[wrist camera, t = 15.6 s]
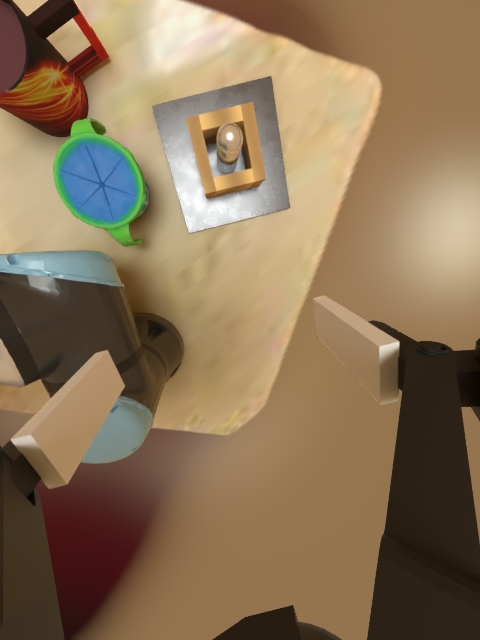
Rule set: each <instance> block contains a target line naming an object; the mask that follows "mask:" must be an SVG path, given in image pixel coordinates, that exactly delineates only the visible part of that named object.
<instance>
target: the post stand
mask: <svg viewBox="0 0 480 640" xmlns="http://www.w3.org/2000/svg"><path fill="white" fill-rule="evenodd" d="M249 102H253V104H254V110H255V116H256V122H257V128H258V134H259V140H260V146H261V152H262V158H263V164H264V171H265V177H266V179H265V180H264V181H263V182H262V183H261V184H260V186H257V187H253V188H249V189H245V190H241V191H236V192H232V193H228V194H224V195H220V196H216V197H212V198H208V199H206V196H205V192H204V188H203V184H202V180H201V176H200V173H199V169H198V165H197V161H196V157H195V153H194V149H193V145H192V141H191V137H190V133H189V129H188V125H187V121H186V118H188V117H192V116H196V115H200V114H204V113H208V112H213V111H217V110H221V109H225V108H229V107H233V106H237V105H241V104H245V103H249ZM152 108H153V112H154V115H155V118H156V122H157V125H158V129H159V132H160V135H161V139H162V142H163V146H164V149H165V152H166V156H167V159H168V163H169V166H170V170H171V173H172V176H173V180H174V183H175V187H176V190H177V193H178V197H179V200H180V204H181V207H182V211H183V214H184V217H185V221H186V224H187V228H188V231H189V233H192V232H196V231H200V230H204V229H208V228H212V227H216V226H220V225H224V224H228V223H232V222H236V221H240V220H244V219H248V218H252V217H256V216H260V215H264V214H268V213H272V212H276V211H280V210H284V209H288V208H290V204H289V197H288V190H287V183H286V176H285V169H284V162H283V155H282V148H281V141H280V134H279V127H278V120H277V113H276V106H275V99H274V92H273V85H272V78H271V76H269V77H265V78H261V79H257V80H253V81H249V82H245V83H241V84H237V85H233V86H229V87H225V88H222V89H218V90H214V91H210V92H206V93H202V94H198V95H194V96H190V97H186V98H182V99H178V100H174V101H170V102H166V103H162V104H158V105H154V106H152ZM242 144H243V135H242V131H241V129H240V128H239V127H238V126H237V125H236V124H234V123H231V122H228V123H225V124H223V125H222V126H221V127H220V128H219V130H218V133H217V142H216V143H211V144H207V145H206V149H207V153H208V157H209V162H210V166H211V170H212V174H213V178H214V177H218V176H223V175H227V174H231V173H235V172H239V171H243V170H246V169H245V164H244V159H243V153H242Z"/></svg>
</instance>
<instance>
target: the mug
mask: <svg viewBox="0 0 480 640" xmlns="http://www.w3.org/2000/svg"><path fill="white" fill-rule="evenodd" d="M72 18H74V20H75V21H76V23H77V24H78V26H79V27H80V29H81V30H82V32H83V33H84V35H85V36H86V38H87V39H88V40H89V42H90V43H91V46H90V47H88V48H87V49H86V50H84V51H83V52H82V53H80V54H79V55H78V56H76V57H75V58H73V59H72V60H71V61H69V62H67V61H66V60H65V59H64V58H63V56H62V55H61V54H60V53H59V52H58V51H57V50H56V49H55V47H54V46H53V45H52V44H51V43H50V42H49V41H48V40H47V39H46V38H47V37H48V36H50V35H51V34H52V33H53V32H55V31H56V30H57V29H59V28H60V27H61V26H63V25H64V24H65V23H66V22H68V21H69V20H70V19H72ZM108 57H109V56H108V54H107V52H106V50H105V48H104V47H103V45H102V44H101V42H100V40H99V39H98V37H97V36H96V34H95V32H94V31H93V29H92V27H90V26H89V24H88V23H87V21H86V19H85V18H84V16H83V15H82V13H81V11H80V10H79V8H78V7H77V5H76V4H75V2H74V0H48V1H47V2H46V3H44V4H43V5H42V6H40V7H39V8H38V9H37V10H35V11H34V12H33V13H32V14H30V15H29V16H28V17H27V16H26V15H25V14H24V13H23V12H22V11H21V9H20V8H19V7H18V6H17V5H16V4H15V3H14V2H13V0H0V108H2V109H4V110H6V111H7V112H9V113H11V114H13V115H15V116H16V117H18V118H20V119H22V120H23V121H25V122H27V123H29V124H31V125H32V126H34V127H36V128H38V129H39V130H41V131H43V132H45V133H47V134H49V135H52V136H56V137H68V136H71V128H72V125H73V123H74V122H75V121H77V120H83V119H86V118H87V115H88V98H87V93H86V90H85V87H84V85H83V82H82V81H81V79H80V77H81V76H82V75H83V74H85V73H86V72H88V71H89V70H90V69H92V68H93V67H94V66H96V65H97V64H98V63H100V62H101V61H103V60H105V59H106V58H108Z"/></svg>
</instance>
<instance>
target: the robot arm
mask: <svg viewBox="0 0 480 640" xmlns="http://www.w3.org/2000/svg"><path fill="white" fill-rule="evenodd" d="M124 288H125V286H124V284H123V283H121V280H120V278H119V275H118V273H117V270H116V267H115V265H114V263H113V261H112V259H111V258H110V257H109V256H108V255H106V254H104V253H102V252H99V251H45V252H27V253H20V254H19V253H14V254H0V384H1V385H7V386H13V387H19V388H20V387H23V386H26V385H28V384H30V383H32V382H34V381H36V380H39V379H41V381H42V383H43V384H44V386H45V388H46V390H47V392H48V394H49V396H50V398H51V399H50V400H49V401H48V402H47V403H46V404H45V405H44V406H43V407H42V408H41V409H40V410H39V411H38V412H37V413H36V414H35V415H34V416H33V417H32V418H31V419H30V420H29V421H28V422H27V423H26V424H25V425H24V426H23V427H22V428H21V429H20V430H19V432H17V433H16V434H15V435H14V436H13V437H12V438H11V439H10V441H9V442H8V443H7V444H6V445H5V446H4V447H3V448H1V446H0V640H64V635H63V630H62V624H61V618H60V612H59V606H58V600H57V594H56V588H55V582H54V576H53V571H52V565H51V559H50V553H49V547H48V541H47V535H46V529H45V523H44V517H43V512H42V506H41V500H40V495H39V493H38V492H37V491H36V489H35V487H36V485H37V484H38V482H39V481H40V480H42V481H43V482H44V483H45V485H46V486H47V487H48V488H49V489H51V488H55V487H59V486H63V485H67V484H68V482H69V481H70V479H71V477H72V475H73V474H74V472H75V470H76V468H77V467H78V465H79V464H80V462H83V463H108V462H113V461H117V460H120V459H123V458H125V457H127V456H129V455H130V454H132V453H133V452H135V451H136V450H137V449H138V448H139V447H140V446H141V444H142V443H143V442H144V440H145V438H146V436H147V434H148V432H149V430H150V428H151V427H152V424H153V420H154V419H153V418H154V415H155V412H156V409H157V406H158V403H159V400H160V397H161V394H162V391H163V388H164V385H165V383H166V382H167V381H168V380H169V379H170V378H171V377H172V376H173V375H174V374H175V373H176V372H177V370H178V369H179V367H180V365H181V362H182V358H183V354H184V345H183V341H182V338H181V336H180V334H179V332H178V331H177V329H176V328H175V327H174V326H173V325H172V324H171V323H170V322H168V321H167V320H165V319H163V318H161V317H159V316H156V315H153V314H148V313H136V314H132V312H131V309H130V305H129V302H128V299H127V296H126V293H125V290H124ZM312 300H313V307H314V315H315V323H316V331H317V338H318V339H319V340H320V341H321V342H322V343H323V344H324V345H325V346H326V347H327V348H328V349H329V350H330V352H331V353H332V354H333V355H334V356H335V357H336V358H337V359H338V360H339V361H340V362H341V363H342V364H343V365H344V367H345V368H346V369H347V370H348V371H349V372H350V373H351V374H352V375H353V376H354V377H355V378H356V379H357V380H358V382H359V383H360V384H361V385H362V386H363V387H364V388H365V389H366V390H367V391H368V392H369V393H370V394H371V395H372V396H373V398H374V399H375V400H376V401H377V402H378V403H379V404H380V405H383V404H387V403H392V402H395V401H399V389H400V390H401V391H402V399H401V407H400V415H399V422H398V430H397V438H396V446H395V454H394V462H393V469H392V478H391V486H390V493H389V501H388V509H387V518H386V524H385V531H384V534H383V535H382V538H381V543H380V549H379V557H378V563H377V571H376V578H375V585H374V593H373V600H372V607H371V615H370V623H369V630H368V637H367V640H480V543H479V536H478V528H477V521H476V514H475V506H474V499H473V491H472V484H471V476H470V469H469V462H468V454H467V447H466V440H465V433H464V425H463V418H462V410H461V407H471V408H472V409H473V411H474V413H475V414H476V416H477V418H478V419H479V421H480V339H478V340H477V342H476V347H475V350H462V351H453V350H452V349H451V348H450V347H448V346H447V345H445V344H442V343H438V342H432V341H420V342H417V341H415V340H413V339H411V338H410V337H408V336H406V335H404V334H403V333H401V332H398V331H397V330H395V329H394V328H391V327H390V326H388V325H386V324H385V323H382V322H378V321H369V322H367V321H365V320H364V319H362V318H360V317H359V316H357V315H355V314H354V313H352V312H351V311H349V310H347V309H346V308H344V307H342V306H340V305H339V304H337V303H336V302H334V301H333V300H331V299H329V298H328V297H326V296H320V297H316V298H313V299H312ZM213 640H342V639H340V638H339V637H337V636H336V635H334V634H332V633H330V632H329V631H327V630H325V629H323V628H320V627H318V626H315V625H312V624H308V623H302V622H298V620H297V616H296V613H295V610H294V607H293V605H292V606H288V607H284V608H280V609H276V610H272V611H268V612H264V613H260V614H256V615H252V616H248V617H245V618H243V619H242V620H240V621H239V622H238V623H236V624H235V625H233V626H232V627H230V628H229V629H227V630H226V631H224V632H223V633H222V634H220V635H219V636H217V637H216V638H214V639H213Z"/></svg>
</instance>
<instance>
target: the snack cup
mask: <svg viewBox="0 0 480 640" xmlns="http://www.w3.org/2000/svg"><path fill="white" fill-rule="evenodd" d="M105 132H106V129H105V127H104V126H103V125H102V124H101V123H99V122H98V121H96V120H94V119H92V118H86V119H83V120H77V121H75V122H74V123H73V125H72V128H71V137H70V139H69V140H67V141H66V142H65V143H64V144H63V145H62V146H61V148H60V149H59V151H58V153H57V155H56V158H55V161H54V166H53V170H54V180H55V185H56V188H57V191H58V193H59V195H60V197H61V199H62V201H63V202H64V204H65V205H66V206H67V208H68V209H69V210H70V211H71V213H72V214H73V215H74V216H76V217H77V218H79V219H80V220H82V221H84V222H85V223H87V224H90V225H92V226H95V227H99V228H103V229H105V230H107V231H108V232H109V233H110V234H111V235H112V236H113V238H114V239H116V240H117V241H118V242H119V243H121V244H122V245H124V246H131V245H136V244H140V243H142V242H143V239H136V240H133V238H132V237H131V235H130V231H129V224H130V223H131V222H132V221H133V220H134V219H135V218H137V217H139V216H141V215H142V214H143V213H144V212H145V210H146V209H147V207H148V204H149V201H150V196H149V189H148V186H147V184H146V181H145V180H144V177H143V174H142V172H141V169H140V167H139V165H138V164H137V162H136V161H135V159H134V156H133V155H132V153H131V152H130V151H129V150H128V149H127V148H124V147H122V146H121V145H120V144H118V143H117V142H115V141H114V140H112V139H110V138H108V137H106V136H103V134H104V133H105Z"/></svg>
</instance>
